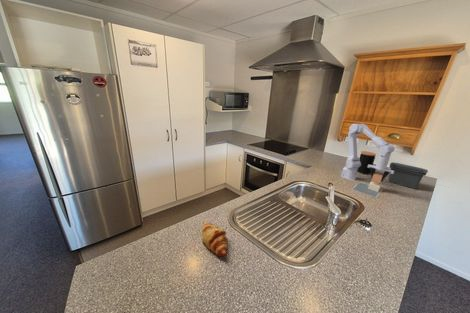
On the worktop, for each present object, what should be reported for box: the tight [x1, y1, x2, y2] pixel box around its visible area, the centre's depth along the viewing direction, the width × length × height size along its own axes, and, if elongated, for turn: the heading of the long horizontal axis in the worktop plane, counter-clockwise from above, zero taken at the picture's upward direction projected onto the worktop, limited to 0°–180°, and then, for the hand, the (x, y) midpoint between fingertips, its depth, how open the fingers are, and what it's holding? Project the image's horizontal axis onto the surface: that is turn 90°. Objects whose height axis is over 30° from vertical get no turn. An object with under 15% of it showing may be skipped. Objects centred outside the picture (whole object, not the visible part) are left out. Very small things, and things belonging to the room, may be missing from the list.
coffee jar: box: [357, 150, 377, 175], centre depth 161 cm, size 11×11×18 cm
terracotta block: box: [370, 172, 383, 184], centre depth 129 cm, size 5×5×5 cm
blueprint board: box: [351, 181, 384, 199], centre depth 131 cm, size 15×20×5 cm
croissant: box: [201, 221, 228, 258], centre depth 78 cm, size 21×10×8 cm, turn 29°
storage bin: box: [388, 161, 429, 190], centre depth 143 cm, size 21×16×14 cm
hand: (376, 179), depth 130 cm, fingers closed on terracotta block, 5 cm apart
